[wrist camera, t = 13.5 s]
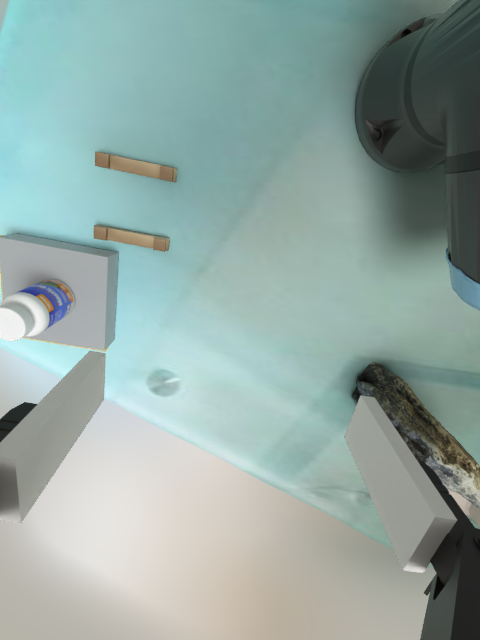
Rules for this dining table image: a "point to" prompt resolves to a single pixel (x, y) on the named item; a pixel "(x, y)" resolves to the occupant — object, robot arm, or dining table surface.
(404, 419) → the stone block
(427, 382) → the dining table surface
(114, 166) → the wooden rail rack
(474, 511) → the candle
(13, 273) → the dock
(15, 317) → the pill bottle
